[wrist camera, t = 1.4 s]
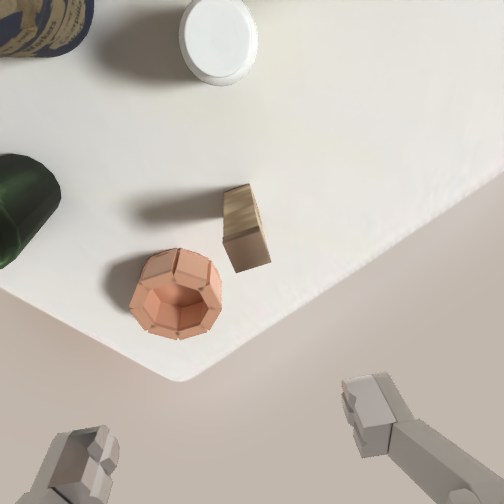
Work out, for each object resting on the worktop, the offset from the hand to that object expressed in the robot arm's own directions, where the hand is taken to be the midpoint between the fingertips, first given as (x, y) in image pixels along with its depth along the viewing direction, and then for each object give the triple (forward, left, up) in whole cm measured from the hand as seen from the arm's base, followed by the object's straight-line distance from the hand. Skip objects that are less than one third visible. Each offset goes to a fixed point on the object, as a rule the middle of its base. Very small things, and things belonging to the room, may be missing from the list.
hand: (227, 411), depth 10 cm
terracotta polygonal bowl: (+10, +11, -26) cm, 30 cm away
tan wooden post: (-1, +3, -26) cm, 26 cm away
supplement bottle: (-4, -11, -26) cm, 28 cm away
